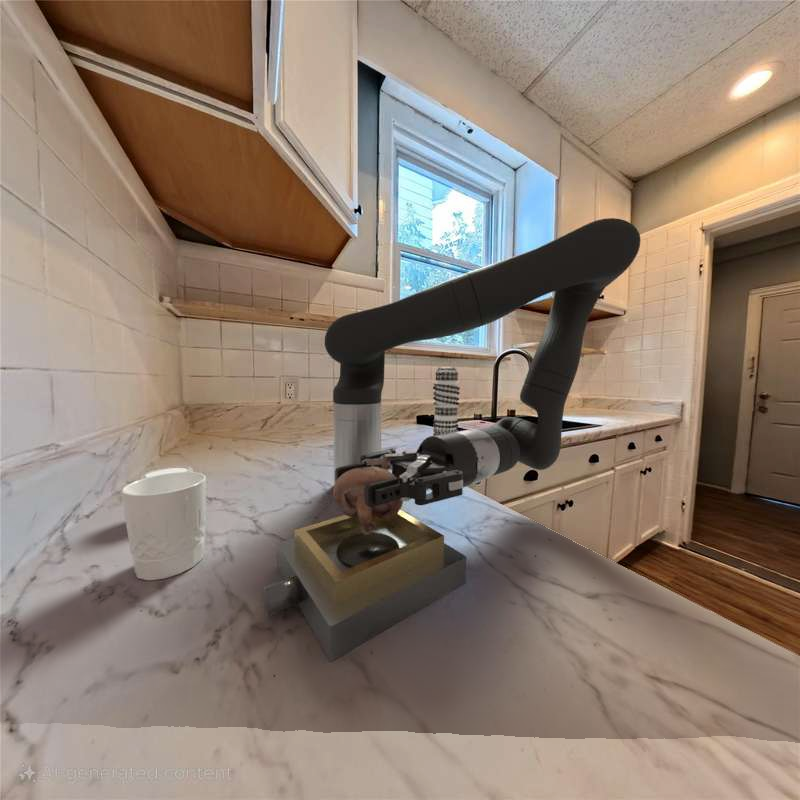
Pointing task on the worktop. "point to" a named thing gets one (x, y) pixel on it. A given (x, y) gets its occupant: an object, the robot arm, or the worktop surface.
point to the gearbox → (362, 576)
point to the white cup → (165, 523)
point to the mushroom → (352, 496)
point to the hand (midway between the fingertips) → (350, 486)
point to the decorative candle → (446, 400)
